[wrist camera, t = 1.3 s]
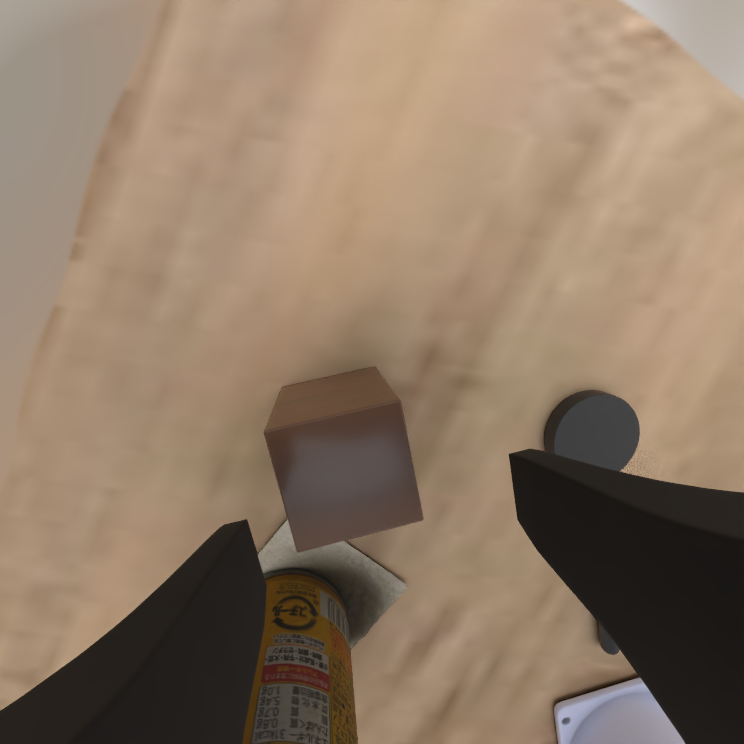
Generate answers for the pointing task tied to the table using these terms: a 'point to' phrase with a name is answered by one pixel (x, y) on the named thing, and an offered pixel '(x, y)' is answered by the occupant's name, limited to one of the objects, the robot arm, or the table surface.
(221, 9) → the table surface
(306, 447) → the walnut block
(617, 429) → the serving spoon
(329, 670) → the condiment
